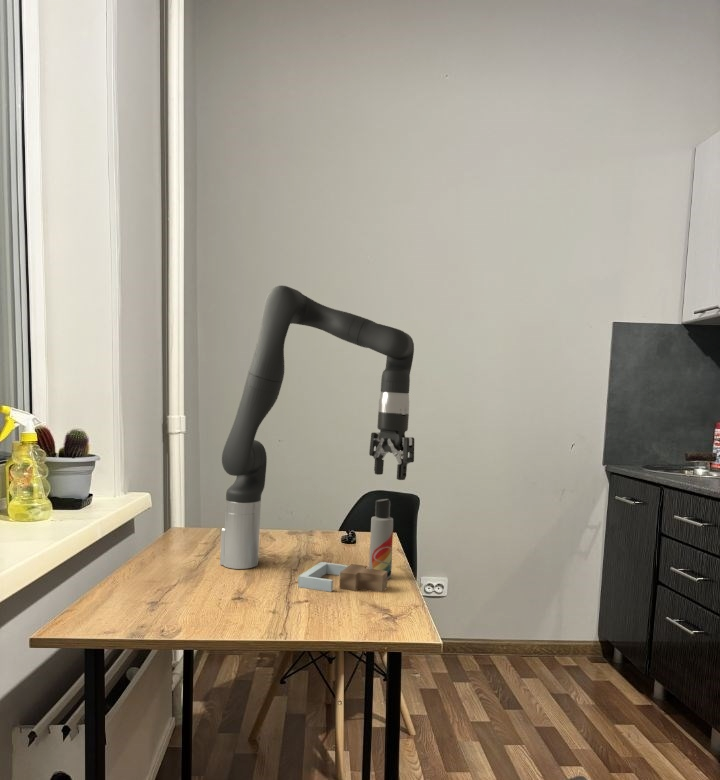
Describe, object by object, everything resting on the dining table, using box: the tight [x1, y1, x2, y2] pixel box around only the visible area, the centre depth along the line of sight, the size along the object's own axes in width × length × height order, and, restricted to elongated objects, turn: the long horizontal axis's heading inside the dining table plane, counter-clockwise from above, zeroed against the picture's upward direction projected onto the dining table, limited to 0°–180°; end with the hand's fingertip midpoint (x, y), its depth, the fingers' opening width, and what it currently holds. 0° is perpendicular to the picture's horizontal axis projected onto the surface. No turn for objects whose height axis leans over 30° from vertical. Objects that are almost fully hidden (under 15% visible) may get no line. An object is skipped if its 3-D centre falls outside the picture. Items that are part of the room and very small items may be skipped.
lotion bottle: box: [368, 498, 394, 580], centre depth 149 cm, size 6×6×20 cm
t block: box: [339, 563, 388, 593], centre depth 140 cm, size 10×8×4 cm
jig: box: [297, 561, 349, 593], centre depth 143 cm, size 8×14×2 cm, turn 161°
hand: (389, 477), depth 142 cm, fingers open, 8 cm apart
